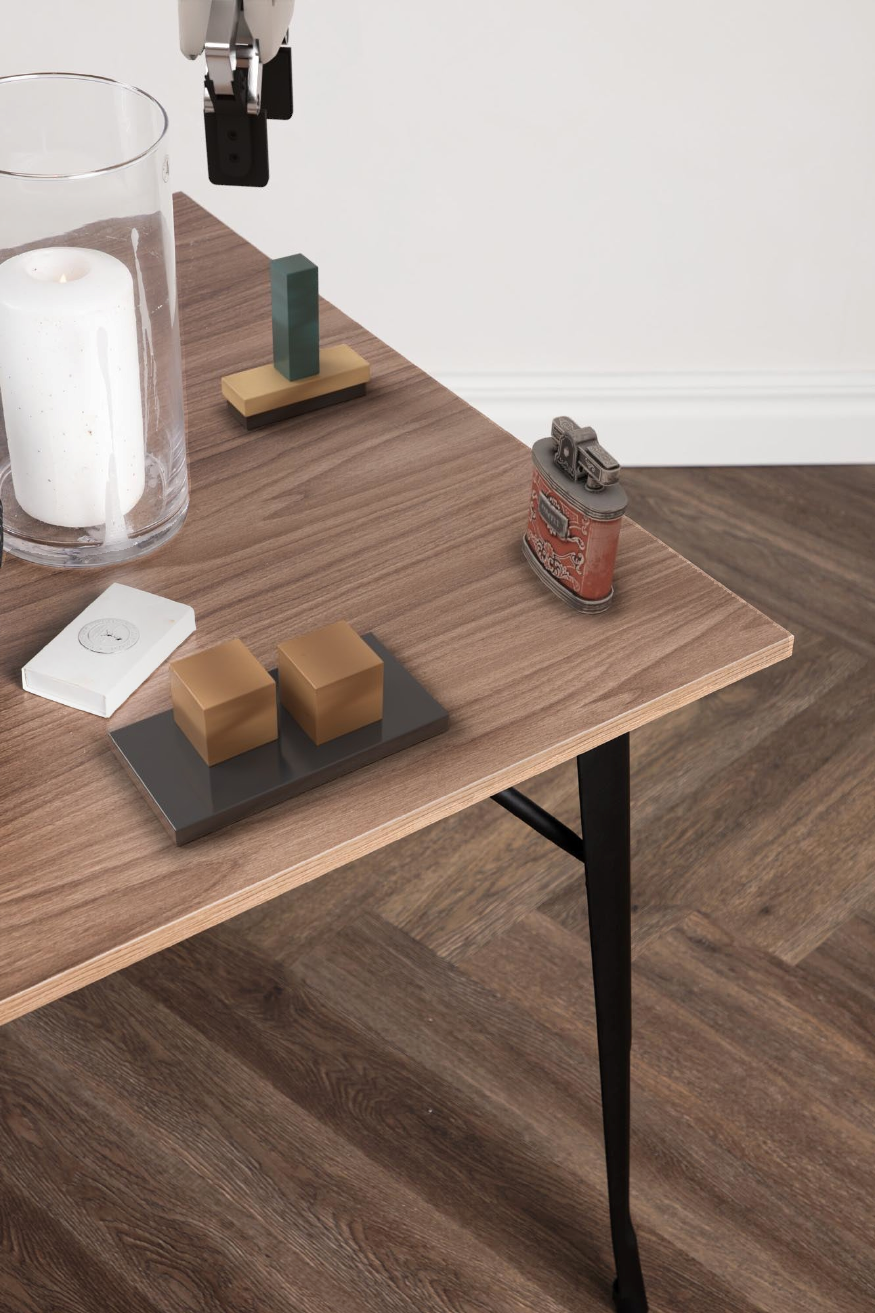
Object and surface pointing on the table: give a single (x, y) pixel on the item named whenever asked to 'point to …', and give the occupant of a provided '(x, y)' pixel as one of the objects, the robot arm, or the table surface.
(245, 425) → the rubber stamp
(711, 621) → the table surface
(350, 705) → the brown cube
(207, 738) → the tan wooden cube
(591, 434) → the lighter
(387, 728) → the board
